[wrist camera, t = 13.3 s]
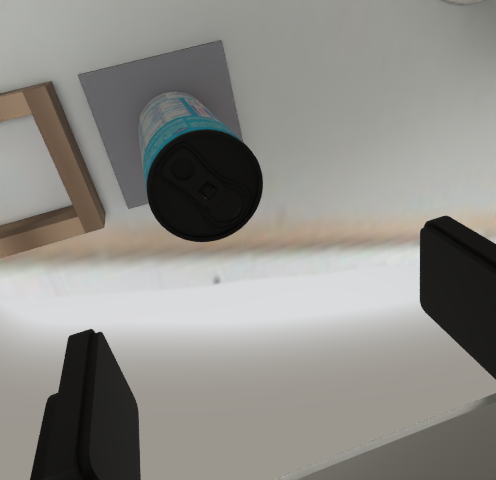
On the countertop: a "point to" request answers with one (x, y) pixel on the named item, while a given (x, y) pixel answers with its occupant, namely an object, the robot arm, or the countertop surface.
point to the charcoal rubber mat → (143, 91)
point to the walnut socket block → (68, 166)
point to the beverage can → (196, 169)
